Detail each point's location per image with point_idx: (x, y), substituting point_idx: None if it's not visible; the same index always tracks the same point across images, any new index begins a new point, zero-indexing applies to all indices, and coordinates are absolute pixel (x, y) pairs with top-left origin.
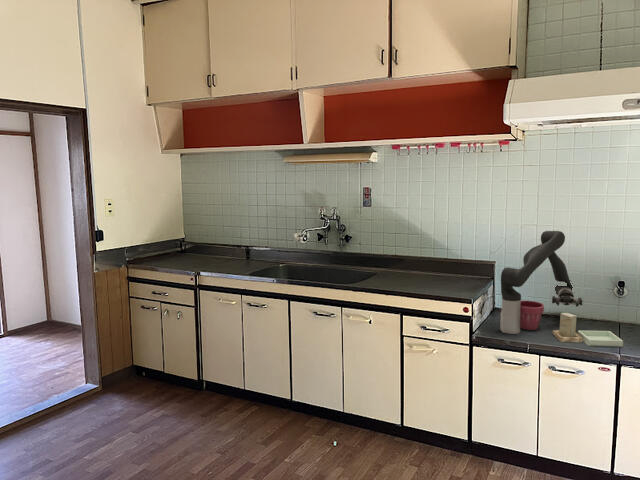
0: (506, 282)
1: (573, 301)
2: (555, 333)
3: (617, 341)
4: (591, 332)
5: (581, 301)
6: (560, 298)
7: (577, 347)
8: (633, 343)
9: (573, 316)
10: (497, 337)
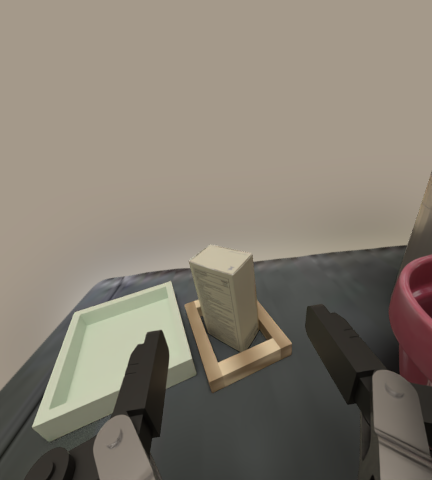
0: None
1: None
2: (271, 319)
3: (92, 308)
4: None
5: (58, 459)
6: (374, 433)
7: None
8: (10, 382)
9: (201, 251)
10: (395, 256)
